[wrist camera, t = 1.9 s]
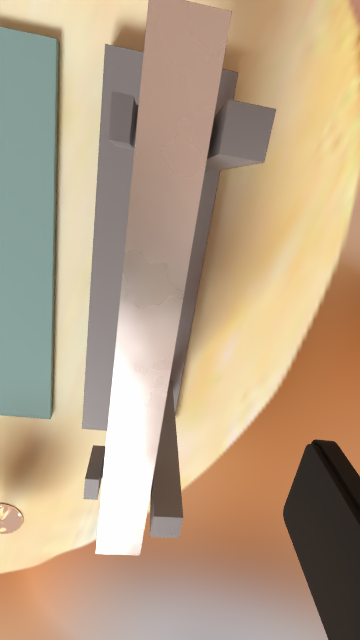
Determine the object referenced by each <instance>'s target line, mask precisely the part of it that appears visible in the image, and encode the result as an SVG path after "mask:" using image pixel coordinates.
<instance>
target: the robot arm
mask: <svg viewBox="0 0 360 640" xmlns="http://www.w3.org/2000/svg"><path fill="white" fill-rule="evenodd" d="M283 516H284V521H285V524H286V527H287V529H288V532H289V535H290V538H291V540H292V543H293V546H294V548H295V551H296V553H297V556H298V559H299V562H300V564H301V567H302V570H303V572H304V575H305V578H306V580H307V583H308V586H309V589H310V591H311V594H312V596H313V599H314V602H315V605H316V607H317V610H318V613H319V615H320V618H321V621H322V623H323V626H324V629H325V631H326V634H327V637H328V640H360V476H359V475H358V473H357V472H356V471H355V469H354V468H353V466H352V465H351V463H350V462H349V460H348V459H347V457H346V456H345V455H344V453H343V452H342V450H341V449H340V447H339V446H338V445H337V443H336V442H334V441H325V440H313V441H312V443H311V444H308V445H307V446H306V448H305V451H304V454H303V456H302V459H301V462H300V465H299V468H298V470H297V473H296V476H295V478H294V481H293V484H292V487H291V490H290V492H289V495H288V498H287V500H286V503H285V506H284V510H283Z"/></svg>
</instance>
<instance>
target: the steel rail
mask: <svg viewBox="0 0 360 640" xmlns="http://www.w3.org/2000/svg"><path fill="white" fill-rule="evenodd" d="M231 13H232V11H228V10H223V9H219V8H215V7H211V6H206V5H202V4H198V3H194V2H190V1H185V0H149V2H148V13H147V23H146V34H145V44H144V55H143V65H142V75H141V86H140V96H139V107H138V117H137V128H136V138H135V149H134V159H133V170H132V180H131V191H130V201H129V211H128V222H127V232H126V243H125V253H124V264H123V274H122V285H121V295H120V306H119V316H118V326H117V337H116V347H115V358H114V368H113V379H112V389H111V400H110V410H109V421H108V431H107V442H106V452H105V462H104V473H103V483H102V494H101V504H100V515H99V525H98V536H97V547H96V554H119V555H140V551H141V545H142V539H143V533H144V527H145V521H146V515H147V509H148V504H149V498H150V492H151V486H152V480H153V474H154V468H155V462H156V456H157V450H158V445H159V439H160V433H161V427H162V421H163V415H164V409H165V403H166V397H167V391H168V385H169V380H170V374H171V368H172V362H173V356H174V350H175V344H176V338H177V332H178V326H179V320H180V315H181V309H182V303H183V297H184V291H185V285H186V279H187V273H188V267H189V261H190V256H191V250H192V244H193V238H194V232H195V226H196V220H197V214H198V208H199V202H200V196H201V191H202V185H203V179H204V173H205V167H206V161H207V155H208V149H209V143H210V137H211V132H212V126H213V120H214V114H215V108H216V102H217V96H218V90H219V84H220V78H221V72H222V67H223V61H224V55H225V49H226V43H227V37H228V31H229V25H230V19H231Z"/></svg>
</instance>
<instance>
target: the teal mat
mask: <svg viewBox="0 0 360 640" xmlns="http://www.w3.org/2000/svg"><path fill="white" fill-rule="evenodd" d="M58 69H59V42H58V40H57V39H56V38H51V37H46V36H42V35H37V34H32V33H28V32H23V31H18V30H14V29H9V28H4V27H0V415H5V416H17V417H29V418H41V419H51V416H52V393H53V339H54V285H55V231H56V177H57V123H58Z"/></svg>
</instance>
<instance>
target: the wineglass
mask: <svg viewBox="0 0 360 640" xmlns="http://www.w3.org/2000/svg"><path fill="white" fill-rule="evenodd" d="M22 523H23V517H22V514H21V513H20V512H19V511H18V510H17V509H16V508H14V507H12V506H10V505H6V504H0V534H8V533H12V532H15V531H16V530H18V529H19V528H20V527H21V526H22Z"/></svg>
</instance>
